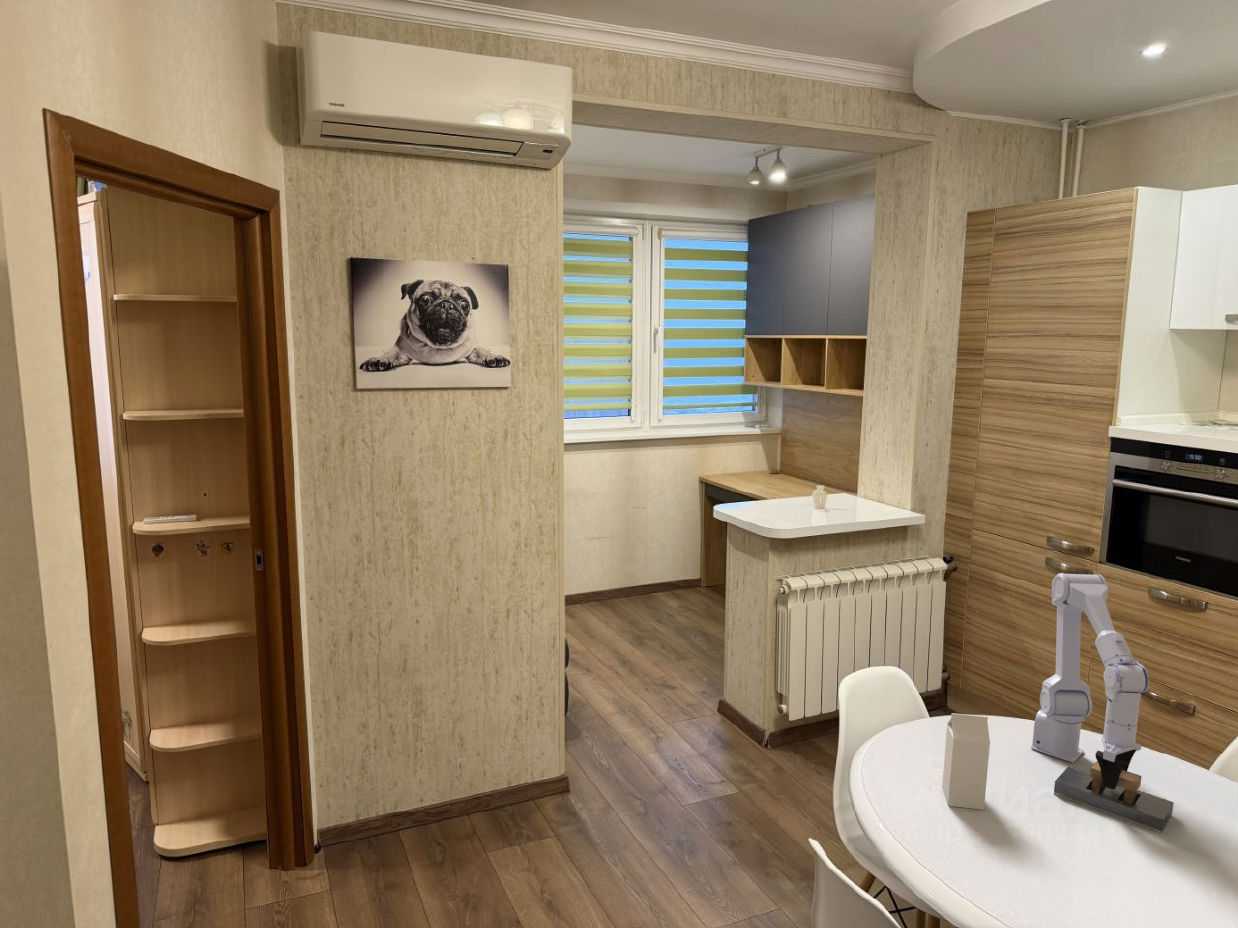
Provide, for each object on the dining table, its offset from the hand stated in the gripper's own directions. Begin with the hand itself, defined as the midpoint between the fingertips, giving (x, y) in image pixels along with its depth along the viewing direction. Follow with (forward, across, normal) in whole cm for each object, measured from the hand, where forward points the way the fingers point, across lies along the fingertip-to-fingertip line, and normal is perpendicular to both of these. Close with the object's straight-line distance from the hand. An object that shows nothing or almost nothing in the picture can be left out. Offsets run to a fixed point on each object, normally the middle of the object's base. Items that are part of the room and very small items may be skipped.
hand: (1114, 780), depth 174 cm
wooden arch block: (+5, 0, 0) cm, 5 cm away
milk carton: (+6, -21, +23) cm, 32 cm away
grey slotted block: (+5, 0, 0) cm, 5 cm away
